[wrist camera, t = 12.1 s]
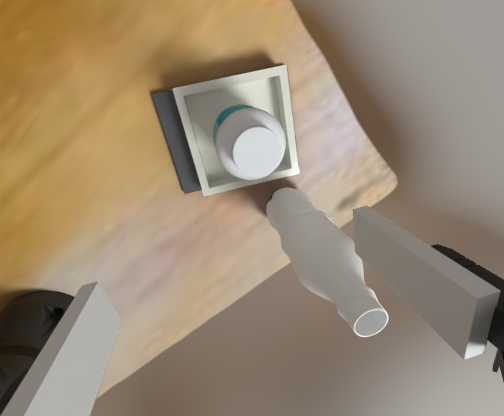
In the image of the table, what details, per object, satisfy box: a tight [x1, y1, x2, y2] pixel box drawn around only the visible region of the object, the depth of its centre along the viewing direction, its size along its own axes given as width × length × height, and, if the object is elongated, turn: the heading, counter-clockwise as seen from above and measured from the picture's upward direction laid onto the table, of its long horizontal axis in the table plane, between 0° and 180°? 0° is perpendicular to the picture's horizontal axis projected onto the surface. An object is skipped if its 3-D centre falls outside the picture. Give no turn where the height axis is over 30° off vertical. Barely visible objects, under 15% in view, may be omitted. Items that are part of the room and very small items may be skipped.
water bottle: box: [266, 187, 388, 337], centre depth 32 cm, size 7×7×25 cm
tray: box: [172, 65, 299, 196], centre depth 35 cm, size 14×14×3 cm
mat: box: [152, 69, 299, 194], centre depth 37 cm, size 18×14×1 cm
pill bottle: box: [213, 104, 286, 180], centre depth 30 cm, size 8×7×14 cm
